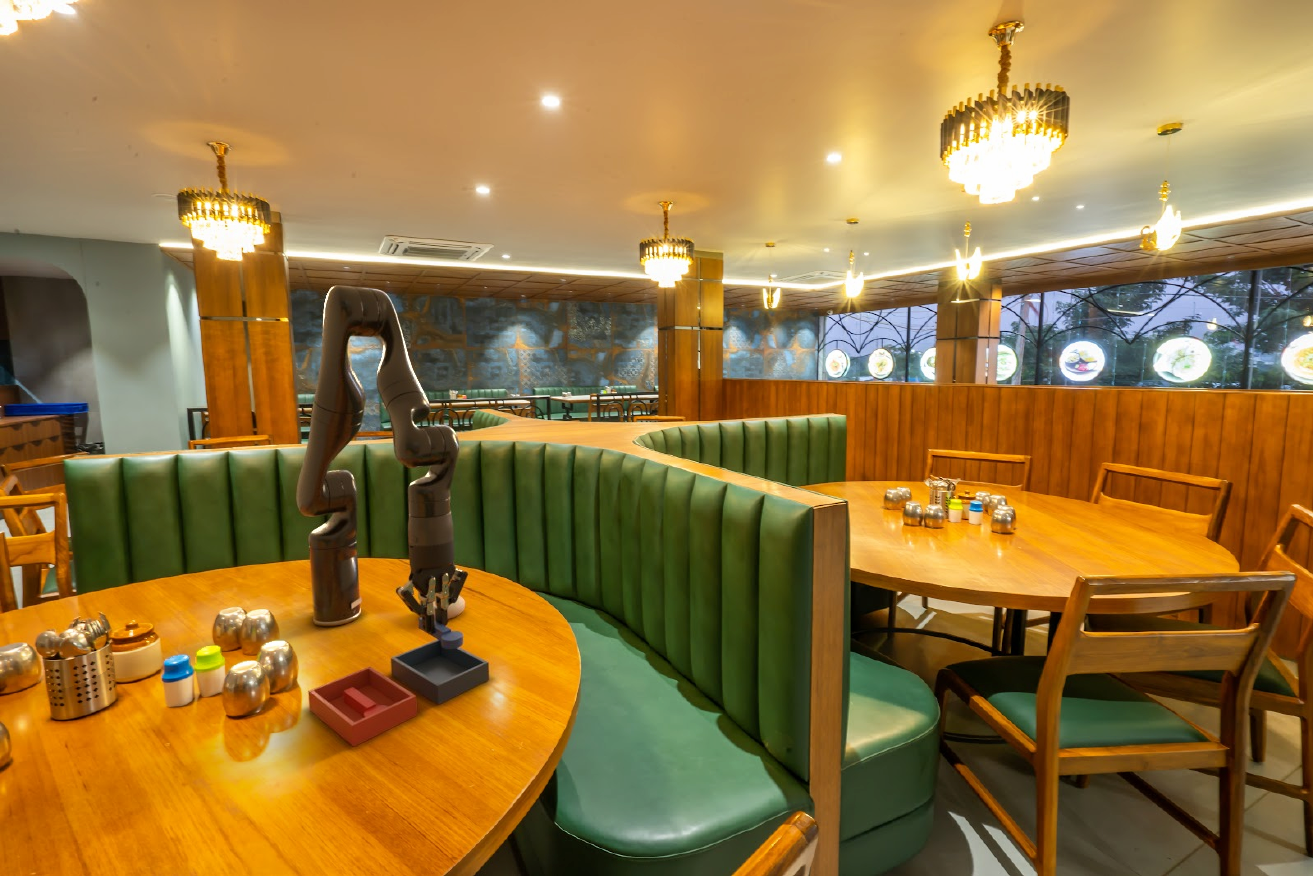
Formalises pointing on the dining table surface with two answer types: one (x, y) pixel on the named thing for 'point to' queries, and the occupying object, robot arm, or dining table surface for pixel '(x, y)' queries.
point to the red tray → (350, 722)
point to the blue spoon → (446, 635)
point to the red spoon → (361, 702)
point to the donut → (453, 608)
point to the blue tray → (439, 671)
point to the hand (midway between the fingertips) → (435, 630)
